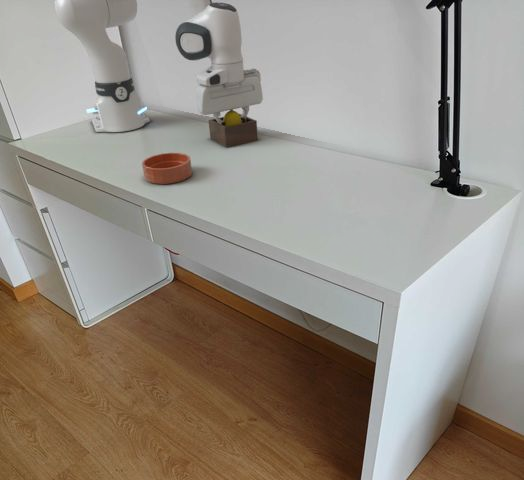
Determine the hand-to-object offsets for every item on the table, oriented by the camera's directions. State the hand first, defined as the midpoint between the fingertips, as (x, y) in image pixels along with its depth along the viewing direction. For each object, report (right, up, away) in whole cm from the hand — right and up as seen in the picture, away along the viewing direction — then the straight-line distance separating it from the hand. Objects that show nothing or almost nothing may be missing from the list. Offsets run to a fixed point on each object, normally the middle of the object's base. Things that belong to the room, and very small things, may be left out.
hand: (232, 125), depth 148 cm
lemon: (0, -3, +2) cm, 4 cm away
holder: (0, -3, +2) cm, 4 cm away
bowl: (-15, -22, -19) cm, 33 cm away
